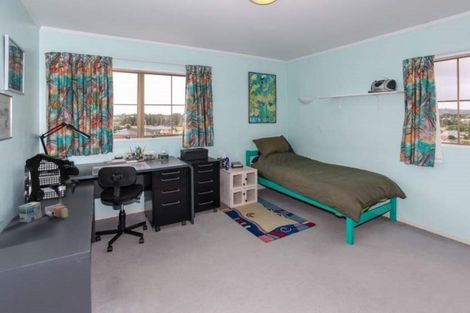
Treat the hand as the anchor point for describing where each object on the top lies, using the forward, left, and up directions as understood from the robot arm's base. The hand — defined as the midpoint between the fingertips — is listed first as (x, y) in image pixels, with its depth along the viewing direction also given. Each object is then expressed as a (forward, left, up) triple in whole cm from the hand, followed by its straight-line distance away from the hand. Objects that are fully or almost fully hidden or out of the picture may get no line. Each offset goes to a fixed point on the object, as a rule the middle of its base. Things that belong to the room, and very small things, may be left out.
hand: (65, 195), depth 197 cm
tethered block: (+9, -4, -12) cm, 15 cm away
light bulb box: (+4, -22, -12) cm, 25 cm away
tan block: (0, -7, -12) cm, 14 cm away
